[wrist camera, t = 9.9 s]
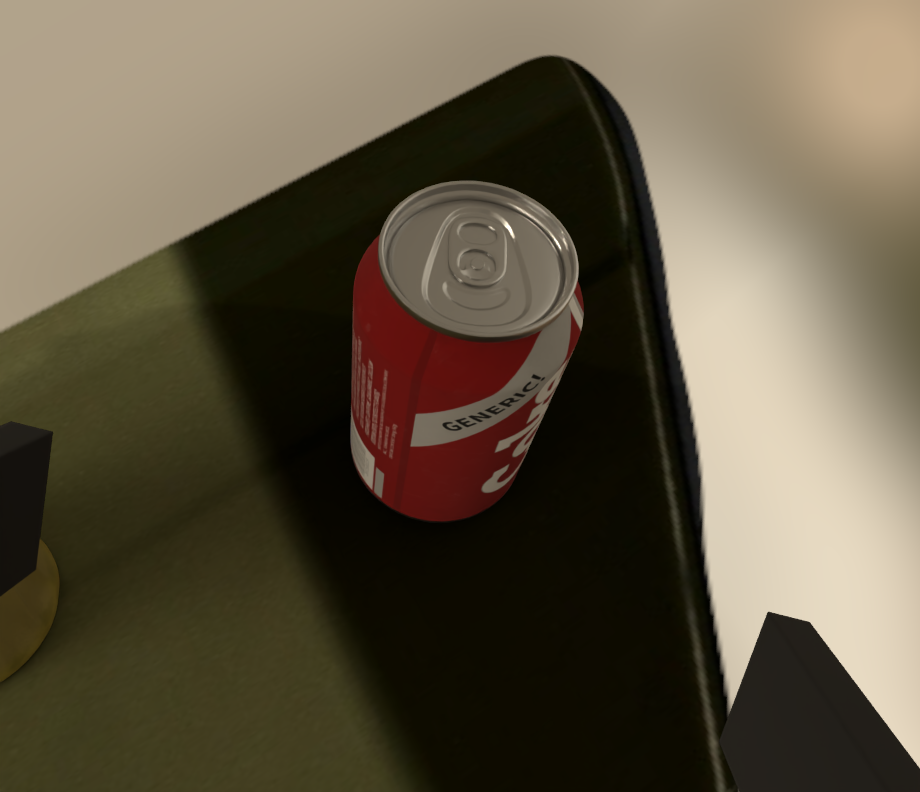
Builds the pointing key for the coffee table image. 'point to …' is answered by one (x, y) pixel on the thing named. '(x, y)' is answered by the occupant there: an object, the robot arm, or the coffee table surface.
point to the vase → (28, 613)
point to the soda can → (458, 346)
